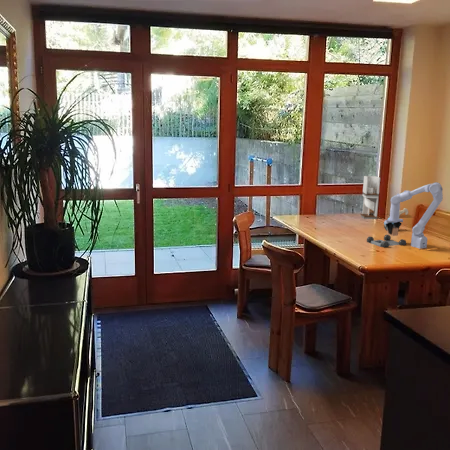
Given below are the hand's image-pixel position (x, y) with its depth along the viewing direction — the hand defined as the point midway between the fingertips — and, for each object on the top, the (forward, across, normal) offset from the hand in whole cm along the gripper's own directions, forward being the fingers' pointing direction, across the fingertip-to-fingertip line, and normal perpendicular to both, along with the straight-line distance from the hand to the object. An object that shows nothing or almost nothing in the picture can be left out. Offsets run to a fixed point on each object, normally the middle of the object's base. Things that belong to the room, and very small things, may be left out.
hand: (392, 233), depth 325 cm
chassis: (+8, +5, 0) cm, 9 cm away
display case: (+8, -49, -78) cm, 92 cm away
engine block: (+1, 0, 0) cm, 1 cm away
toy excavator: (+8, -34, -32) cm, 47 cm away
